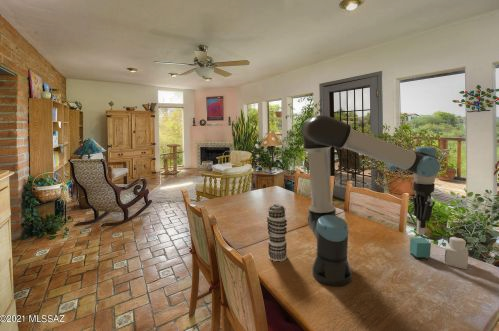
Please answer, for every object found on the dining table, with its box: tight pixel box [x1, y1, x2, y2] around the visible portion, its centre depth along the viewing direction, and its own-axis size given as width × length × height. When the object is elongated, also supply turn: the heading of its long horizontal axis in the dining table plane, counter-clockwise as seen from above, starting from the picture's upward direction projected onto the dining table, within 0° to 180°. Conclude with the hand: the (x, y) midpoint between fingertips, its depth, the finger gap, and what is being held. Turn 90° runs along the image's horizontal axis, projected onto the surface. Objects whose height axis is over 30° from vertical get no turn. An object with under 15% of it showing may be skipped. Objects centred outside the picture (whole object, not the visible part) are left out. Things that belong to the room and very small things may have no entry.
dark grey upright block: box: [409, 252, 429, 261], centre depth 110 cm, size 5×5×7 cm
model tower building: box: [266, 204, 288, 262], centre depth 113 cm, size 9×9×25 cm
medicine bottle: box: [444, 234, 469, 270], centre depth 103 cm, size 7×7×12 cm
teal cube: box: [409, 237, 432, 259], centre depth 110 cm, size 6×6×7 cm
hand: (420, 233), depth 109 cm, fingers closed
